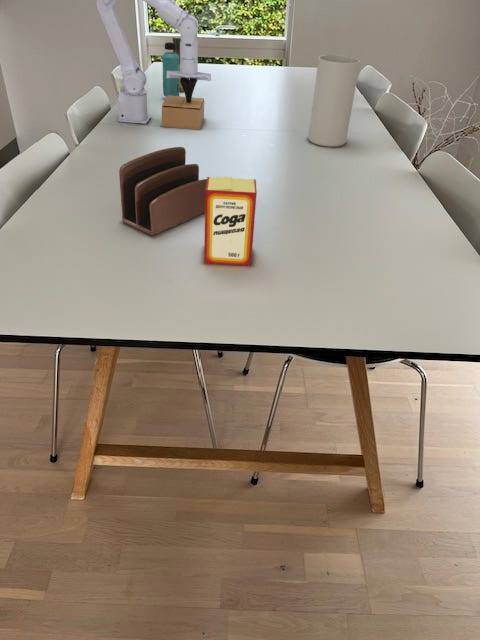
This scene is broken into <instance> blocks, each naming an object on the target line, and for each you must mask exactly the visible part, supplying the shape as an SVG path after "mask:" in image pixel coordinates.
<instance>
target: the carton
mask: <svg viewBox="0 0 480 640" xmlns="http://www.w3.org/2000/svg"><path fill="white" fill-rule="evenodd" d="M185 99H186V96H182V95H181V96H180V95H179V96H167V97H165V99H164V101H163V102H162V103H161V127H162V128H174V129H184V130H185V129H188V130H201V129H202V128H201V127H202V126H203V123H204V120H205V99H204V100H203V103H202V105H201V107H200V109H199V108H198V109H187V108H183V107H181V106H182V104H183V102H184V100H185Z"/></svg>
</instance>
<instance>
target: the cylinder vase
mask: <svg viewBox="0 0 480 640" xmlns="http://www.w3.org/2000/svg"><path fill="white" fill-rule="evenodd" d="M360 63H361V60H360V59H359V58H355V57H351V56H346V55H337V54H324V55H320V56H318V61H317V68H316V75H315V82H314V90H313V98H312V106H311V113H310V121H309V122H310V123H309V129H308V140H309V142H311V143H312V144H314V145H317V146H321V147H328V148H330V147H331V148H335V147H336V148H337V147H341V146H344V145H345V144H346V143H347V138H348V132H349V126H350V121H351V114H352V110H353V109H352V108H353V105H354V104H353V103H354V98H355V93H356V87H357V80H358V75H359V70H360Z"/></svg>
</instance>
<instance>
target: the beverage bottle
mask: <svg viewBox="0 0 480 640" xmlns="http://www.w3.org/2000/svg"><path fill="white" fill-rule="evenodd" d="M164 50H166V51H165V52H164V53H162V55H161V58H162V60H161V61H162V62H161V63H162V94H163V96H164V97H165V98H167V96H180V93H181V92H180V87H179V85H180V84H179V82H180V80H179V78H167V71H179V56H178V55H177V54H176V53H174V52H173V50H176V46H175V43H173V42H172V41H171V42H169V41H168V42H164Z"/></svg>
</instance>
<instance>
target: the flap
mask: <svg viewBox="0 0 480 640" xmlns="http://www.w3.org/2000/svg"><path fill="white" fill-rule="evenodd" d="M203 100H204V101H205V98H204V97H194V96H192V99H191V103H187V102H186V98H185V100H184V102H183V104H182V106H181V107H183V108H199V109H200V107H201V105H202V103H203Z"/></svg>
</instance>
